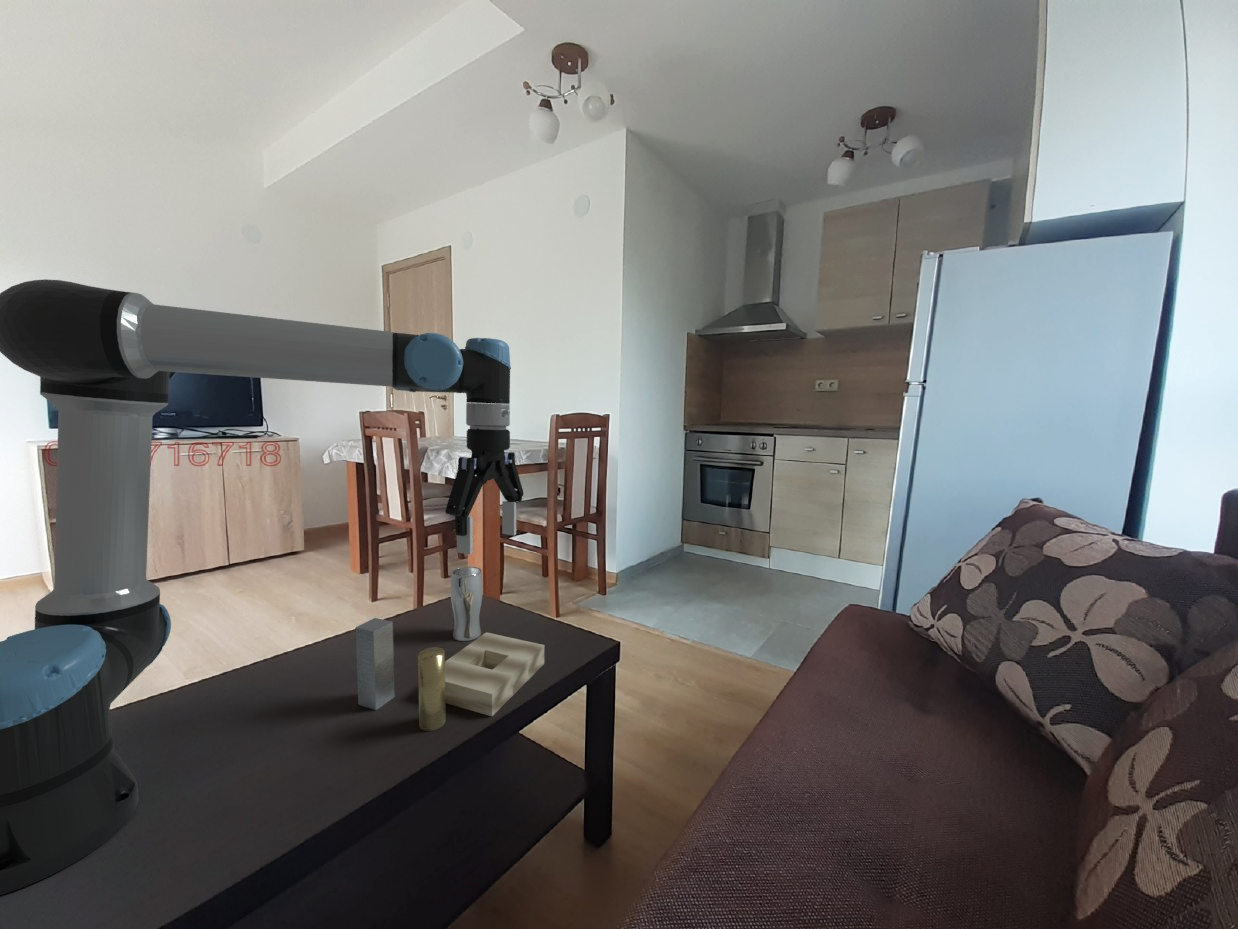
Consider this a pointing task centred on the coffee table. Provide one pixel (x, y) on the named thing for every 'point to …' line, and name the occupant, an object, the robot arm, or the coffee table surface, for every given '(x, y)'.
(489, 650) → the socket block
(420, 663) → the round bit
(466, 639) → the beer glass
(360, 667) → the square bit
